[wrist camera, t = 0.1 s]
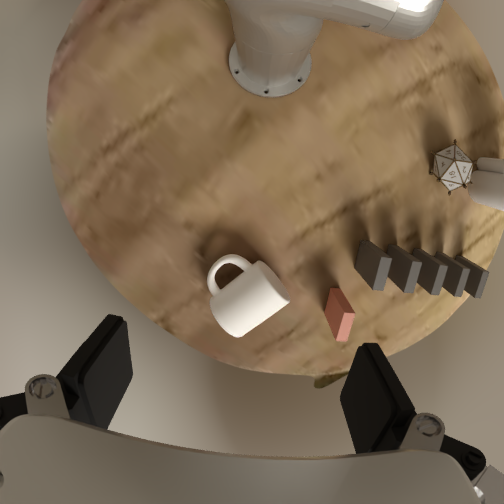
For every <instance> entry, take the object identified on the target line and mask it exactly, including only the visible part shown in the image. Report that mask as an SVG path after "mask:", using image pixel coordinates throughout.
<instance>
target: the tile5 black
mask: <svg viewBox="0 0 504 504" xmlns="http://www.w3.org/2000/svg"><path fill="white" fill-rule="evenodd" d="M435 258H436V259H438V260H439V261H441V262H442V263H444V264H446V265H447V266H448V268H447V271H446V275H445V278H444V281H443V284H442V287H443V288H445V289H446V290H447V291H448V292H450V293H451V294H452V295H453V296H456V297H461V296H462V293H463V290H464V287H465V284H466V281H467V278H468V275H469V272H470V269H469V268H467V267H466V266H464V265H462V264H461V263H459V262H458V261H456V260H454V259H453V258H451V257H449V256H448V255H446V254H444V253H440V252H436V256H435Z"/></svg>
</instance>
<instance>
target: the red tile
mask: <svg viewBox="0 0 504 504" xmlns="http://www.w3.org/2000/svg"><path fill="white" fill-rule="evenodd" d="M324 314H325V316H326V318H327V321H328V323H329V326H330V328H331V330H332V333H333V335H334V338H335V340H336V341H347V339H348V336H349V333H350V329H351V326H352V323H353V320H354V316H355V312H354V310H353V309H352V307H351V305H350V304H349V302H348V300H347V299H346V297H345V296H344V294H343V292H342V291H341V289H339V288H330V292H329V296H328V300H327V304H326V308H325V312H324Z"/></svg>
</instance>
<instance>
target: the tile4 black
mask: <svg viewBox="0 0 504 504" xmlns="http://www.w3.org/2000/svg"><path fill="white" fill-rule="evenodd" d="M412 256H414V257H415V258H416V259H418V260H419V261H421V262H422V265H421V269H420V272H419V275H418V279H417V283H418V284H419V285H420V286H422V287H423V288H424V289H425V290H426V291H427V292H428V293H430V294H431V295H439V294H440V291H441V288H442V284H443V281H444V278H445V275H446V271H447V268H448V266H447V265H446V264H444V263H442V262H441V261H439V260H438V259H436V258H435V257H433V256H432V255H430V254H428V253H427V252H425V251H424V250H422V249H416V248H414V251H413V255H412Z"/></svg>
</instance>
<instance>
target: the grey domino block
mask: <svg viewBox="0 0 504 504" xmlns="http://www.w3.org/2000/svg"><path fill="white" fill-rule="evenodd" d="M455 260H456V261H458V262H459V263H461V264H462V265H464V266H466V267H467V268H469V269H470V272H469V275H468V278H467V281H466V284H465V287H464V290H465V291H466V292H468V293H469V294H470V295H472V296H473V297H474V298H481V295H482V293H483V290H484V287H485V284H486V281H487V278H488V274H489V272H488V271H486V270H485V269H483V268H481V267H480V266H478V265H476V264H475V263H473V262H471V261H470V260H468V259H466V258H464V257H463V256H458V255H456V259H455Z"/></svg>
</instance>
